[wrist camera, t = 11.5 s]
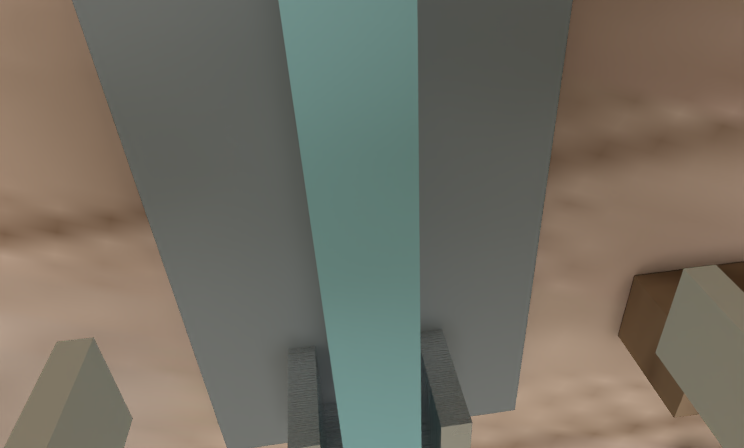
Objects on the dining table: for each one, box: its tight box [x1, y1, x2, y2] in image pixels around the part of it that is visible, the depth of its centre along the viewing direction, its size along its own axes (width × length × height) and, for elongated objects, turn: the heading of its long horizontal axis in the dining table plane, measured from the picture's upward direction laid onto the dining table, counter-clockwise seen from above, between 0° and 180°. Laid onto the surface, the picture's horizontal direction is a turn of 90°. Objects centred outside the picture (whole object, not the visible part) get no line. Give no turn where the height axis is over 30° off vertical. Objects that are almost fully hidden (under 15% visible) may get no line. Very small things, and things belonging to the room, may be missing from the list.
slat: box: [278, 0, 421, 448], centre depth 18 cm, size 3×24×5 cm, turn 4°
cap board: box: [72, 0, 573, 448], centre depth 20 cm, size 15×31×1 cm, turn 3°
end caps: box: [288, 329, 472, 448], centre depth 18 cm, size 7×28×5 cm, turn 3°
